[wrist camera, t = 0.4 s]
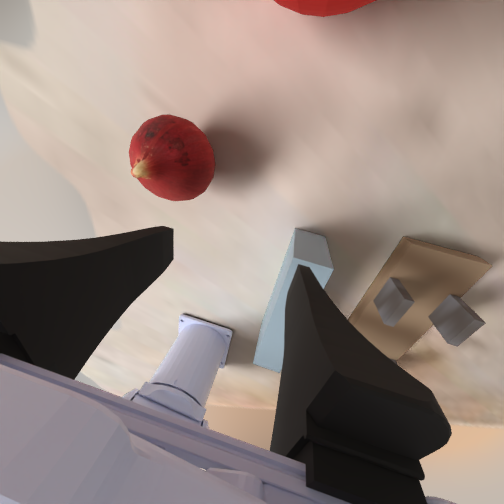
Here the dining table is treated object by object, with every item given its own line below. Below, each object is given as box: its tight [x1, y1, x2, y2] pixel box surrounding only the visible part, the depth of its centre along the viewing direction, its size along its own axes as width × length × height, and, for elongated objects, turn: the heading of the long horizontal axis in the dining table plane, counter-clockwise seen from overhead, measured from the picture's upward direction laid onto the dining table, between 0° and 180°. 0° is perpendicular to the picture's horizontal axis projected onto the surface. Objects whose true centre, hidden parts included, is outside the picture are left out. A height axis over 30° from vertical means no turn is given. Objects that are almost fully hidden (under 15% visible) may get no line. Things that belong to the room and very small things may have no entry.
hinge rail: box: [348, 236, 492, 364], centre depth 21 cm, size 20×6×4 cm, turn 168°
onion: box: [129, 115, 215, 201], centre depth 15 cm, size 6×6×8 cm
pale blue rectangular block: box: [253, 228, 334, 373], centre depth 21 cm, size 14×4×6 cm, turn 168°
